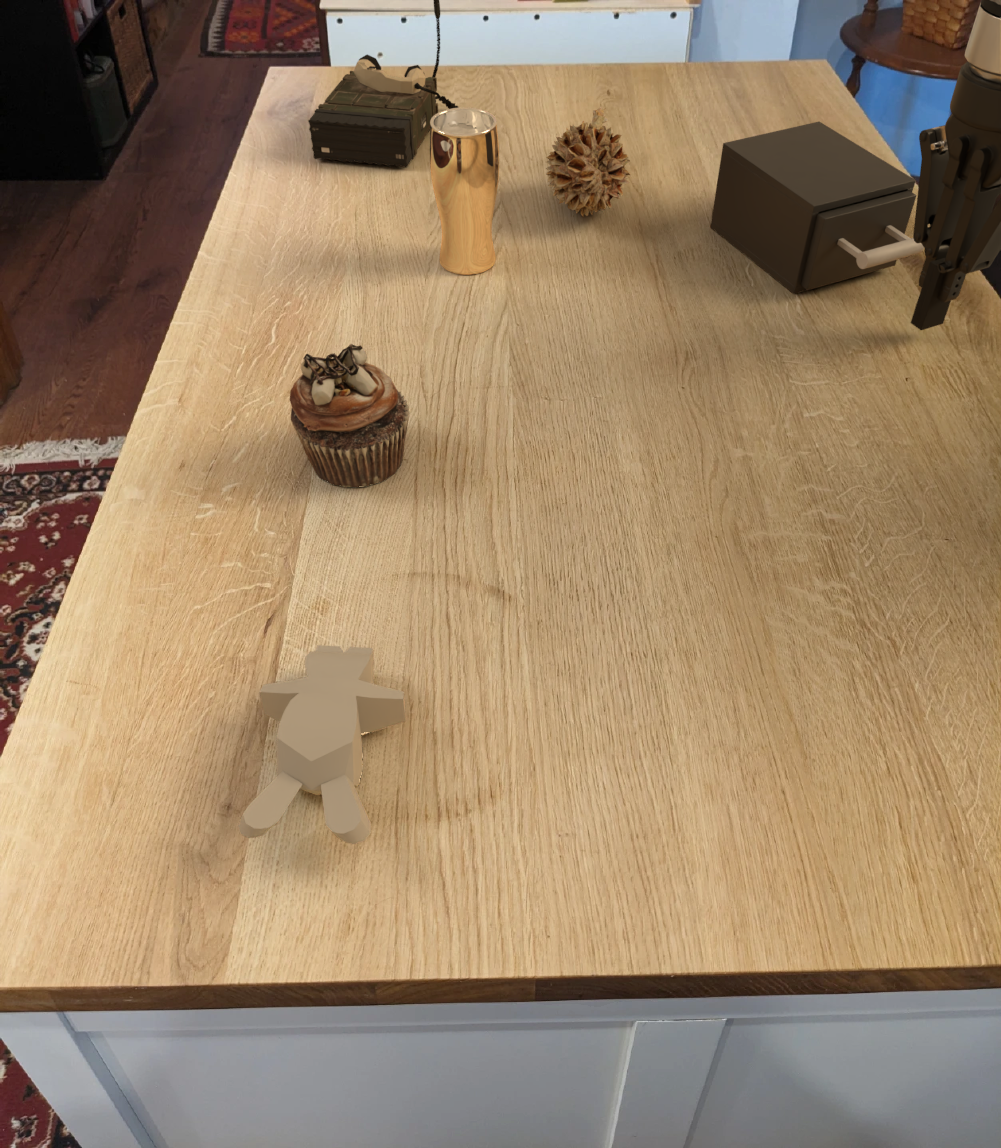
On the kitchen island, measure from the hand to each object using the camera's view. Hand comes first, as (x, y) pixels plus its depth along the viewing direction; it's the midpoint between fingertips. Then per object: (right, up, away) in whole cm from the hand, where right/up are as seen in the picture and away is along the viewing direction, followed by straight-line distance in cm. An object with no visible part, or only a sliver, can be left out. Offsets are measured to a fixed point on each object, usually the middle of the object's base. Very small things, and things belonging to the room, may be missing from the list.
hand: (926, 323), depth 98 cm
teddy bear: (-52, -37, -32) cm, 71 cm away
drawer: (-7, +10, +10) cm, 16 cm away
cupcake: (-54, -14, -11) cm, 57 cm away
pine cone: (-31, +21, +22) cm, 44 cm away
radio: (-54, +34, +35) cm, 73 cm away
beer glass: (-45, +9, +12) cm, 47 cm away
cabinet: (-9, +12, +13) cm, 20 cm away
